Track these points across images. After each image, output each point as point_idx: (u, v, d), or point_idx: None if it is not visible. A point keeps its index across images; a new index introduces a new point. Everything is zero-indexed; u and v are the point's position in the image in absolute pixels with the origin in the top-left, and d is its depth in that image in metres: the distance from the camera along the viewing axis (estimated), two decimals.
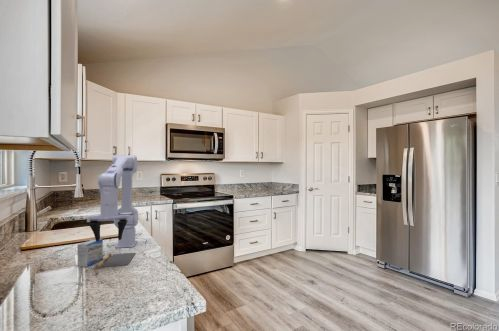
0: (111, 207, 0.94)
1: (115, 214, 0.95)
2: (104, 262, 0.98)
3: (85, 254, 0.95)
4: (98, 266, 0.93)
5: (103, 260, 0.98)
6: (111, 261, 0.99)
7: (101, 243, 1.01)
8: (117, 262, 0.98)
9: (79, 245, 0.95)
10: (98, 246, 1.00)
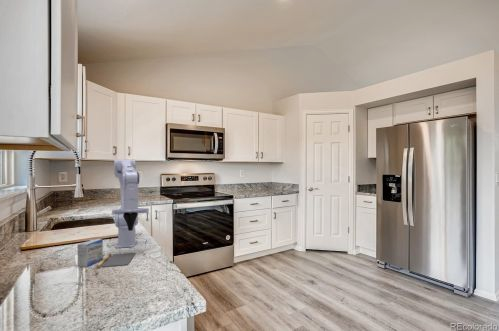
0: (133, 201, 1.08)
1: (136, 207, 1.09)
2: (104, 262, 0.98)
3: (85, 254, 0.95)
4: (98, 266, 0.93)
5: (103, 260, 0.98)
6: (111, 261, 0.99)
7: (101, 243, 1.01)
8: (117, 262, 0.98)
9: (79, 245, 0.95)
10: (98, 246, 1.00)
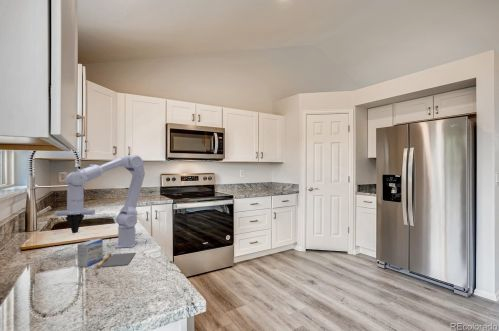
0: (76, 203, 1.04)
1: (80, 209, 1.05)
2: (104, 262, 0.98)
3: (85, 254, 0.95)
4: (98, 266, 0.93)
5: (103, 260, 0.98)
6: (111, 261, 0.99)
7: (101, 243, 1.01)
8: (117, 262, 0.98)
9: (79, 245, 0.95)
10: (98, 246, 1.00)
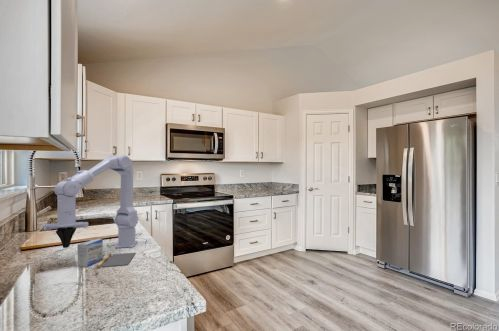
0: (67, 215, 0.95)
1: (72, 222, 0.96)
2: (104, 262, 0.98)
3: (85, 254, 0.95)
4: (98, 266, 0.93)
5: (103, 260, 0.98)
6: (111, 261, 0.99)
7: (101, 243, 1.01)
8: (117, 262, 0.98)
9: (79, 245, 0.95)
10: (98, 246, 1.00)
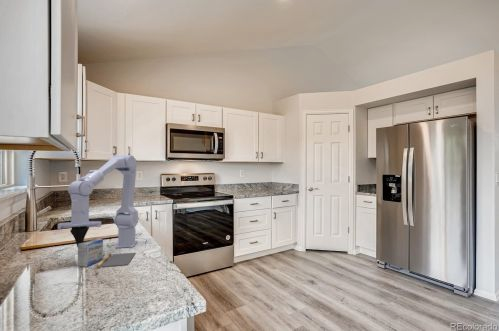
0: (81, 214, 0.96)
1: (86, 221, 0.97)
2: (104, 262, 0.98)
3: (85, 254, 0.95)
4: (98, 266, 0.93)
5: (103, 260, 0.98)
6: (111, 261, 0.99)
7: (101, 243, 1.01)
8: (117, 262, 0.98)
9: (79, 245, 0.95)
10: (98, 246, 1.00)
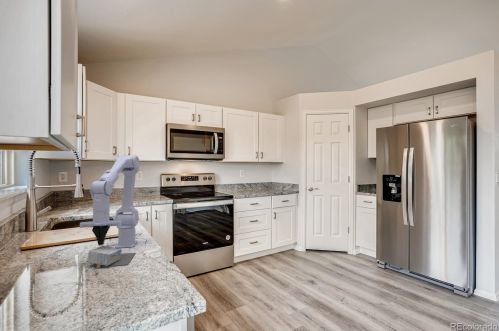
0: (103, 213, 0.98)
1: (107, 220, 0.99)
2: None
3: (98, 262, 0.94)
4: (98, 266, 0.93)
5: None
6: None
7: None
8: (117, 262, 0.98)
9: (107, 256, 0.94)
10: None
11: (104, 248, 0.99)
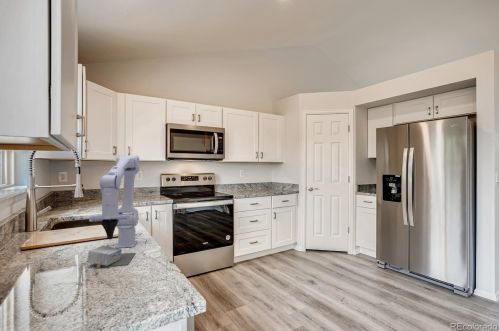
0: (112, 207, 0.99)
1: (116, 214, 1.00)
2: None
3: (98, 262, 0.94)
4: (98, 266, 0.93)
5: None
6: None
7: None
8: (117, 262, 0.98)
9: (107, 256, 0.94)
10: None
11: (104, 248, 0.99)
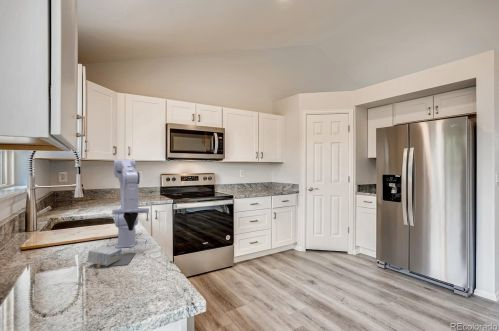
0: (133, 201, 1.08)
1: (136, 207, 1.09)
2: None
3: (98, 262, 0.94)
4: (98, 266, 0.93)
5: None
6: None
7: None
8: (117, 262, 0.98)
9: (107, 256, 0.94)
10: None
11: (104, 248, 0.99)
